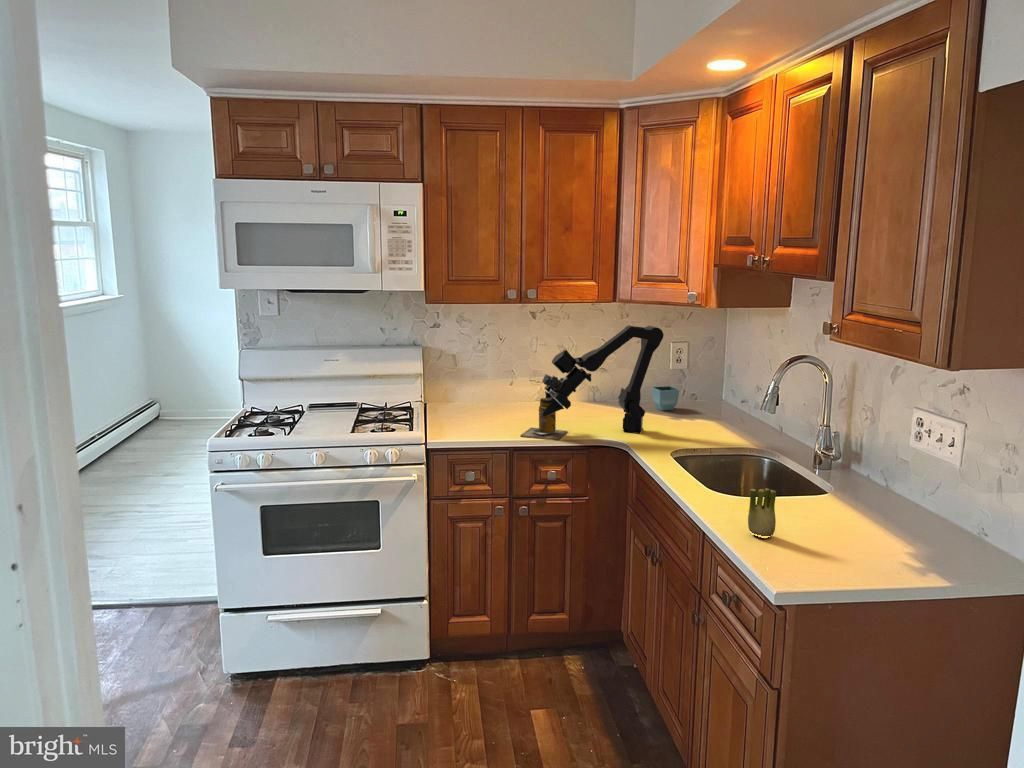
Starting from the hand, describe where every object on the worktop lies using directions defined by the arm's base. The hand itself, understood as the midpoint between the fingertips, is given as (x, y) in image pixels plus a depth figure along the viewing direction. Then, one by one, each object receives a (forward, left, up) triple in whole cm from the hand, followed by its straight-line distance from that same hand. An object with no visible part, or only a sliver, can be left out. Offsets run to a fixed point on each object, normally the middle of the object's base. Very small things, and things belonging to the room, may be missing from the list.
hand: (541, 413), depth 279 cm
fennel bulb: (-79, +73, -8) cm, 108 cm away
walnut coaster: (-1, -1, -8) cm, 8 cm away
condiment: (-1, 0, -7) cm, 7 cm away
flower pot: (-35, -59, -8) cm, 69 cm away
